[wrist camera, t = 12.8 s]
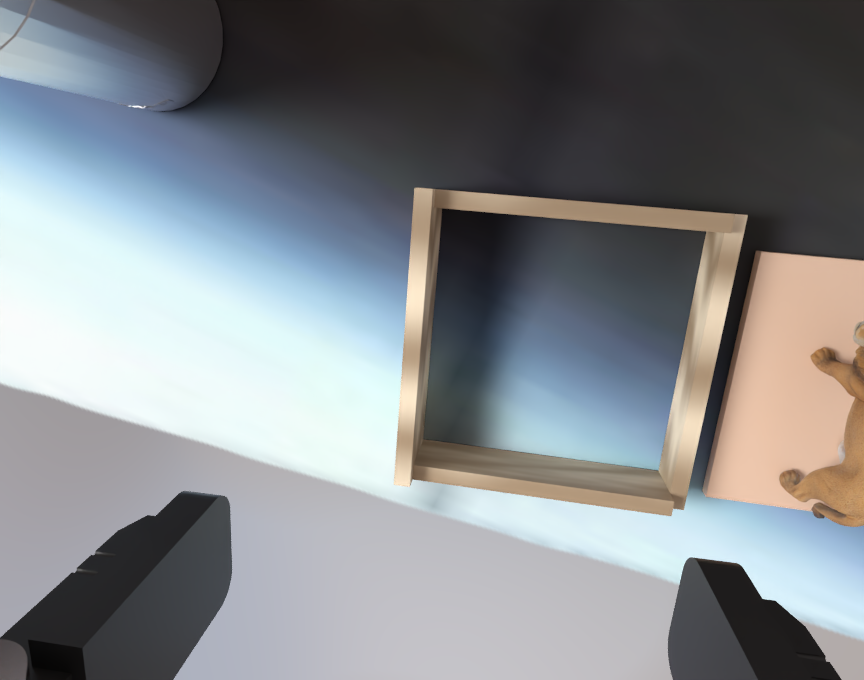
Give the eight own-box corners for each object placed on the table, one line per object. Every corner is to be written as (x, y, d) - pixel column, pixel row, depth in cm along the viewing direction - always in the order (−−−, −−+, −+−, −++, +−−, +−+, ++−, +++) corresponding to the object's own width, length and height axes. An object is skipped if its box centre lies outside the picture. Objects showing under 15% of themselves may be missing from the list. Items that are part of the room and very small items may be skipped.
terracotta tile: (756, 250, 34) (761, 251, 33) (976, 270, 33) (987, 272, 32) (702, 490, 38) (705, 496, 38) (895, 517, 37) (903, 523, 36)
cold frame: (428, 188, 36) (414, 187, 31) (728, 213, 34) (763, 216, 29) (408, 450, 41) (393, 484, 36) (670, 486, 39) (693, 527, 34)
